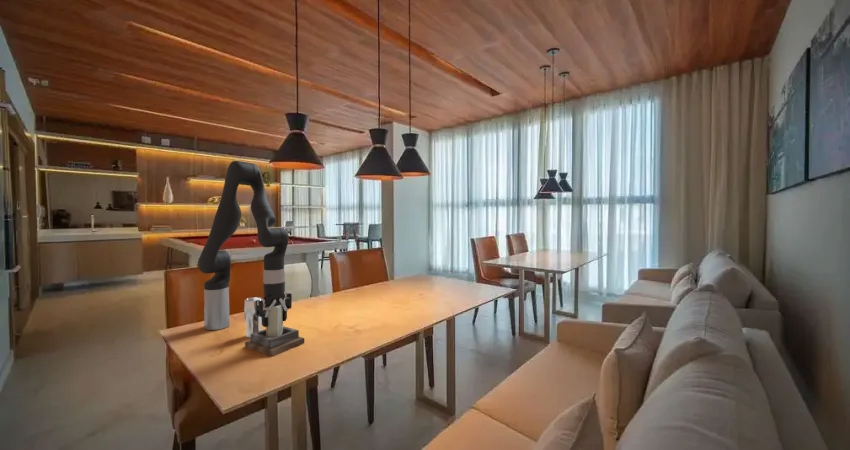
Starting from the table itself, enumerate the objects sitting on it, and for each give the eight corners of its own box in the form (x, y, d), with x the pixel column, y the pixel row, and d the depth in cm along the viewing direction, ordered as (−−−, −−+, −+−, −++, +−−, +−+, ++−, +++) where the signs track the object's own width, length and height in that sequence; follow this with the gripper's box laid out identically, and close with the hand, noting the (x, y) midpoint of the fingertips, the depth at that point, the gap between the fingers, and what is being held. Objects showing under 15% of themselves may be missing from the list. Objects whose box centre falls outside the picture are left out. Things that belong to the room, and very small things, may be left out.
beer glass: (255, 339, 139) (255, 301, 138) (240, 337, 140) (239, 300, 139) (267, 333, 145) (266, 297, 145) (252, 331, 147) (251, 296, 146)
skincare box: (271, 333, 136) (271, 302, 135) (283, 333, 136) (283, 302, 135) (265, 339, 129) (265, 307, 129) (278, 339, 130) (277, 307, 129)
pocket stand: (245, 346, 131) (244, 333, 131) (277, 335, 143) (277, 323, 143) (272, 356, 123) (272, 342, 123) (304, 343, 135) (304, 330, 135)
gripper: (283, 276, 140) (284, 317, 141) (250, 283, 127) (251, 327, 128) (296, 278, 136) (296, 320, 137) (263, 285, 124) (263, 331, 124)
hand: (274, 323), depth 132 cm, fingers closed on skincare box, 7 cm apart
